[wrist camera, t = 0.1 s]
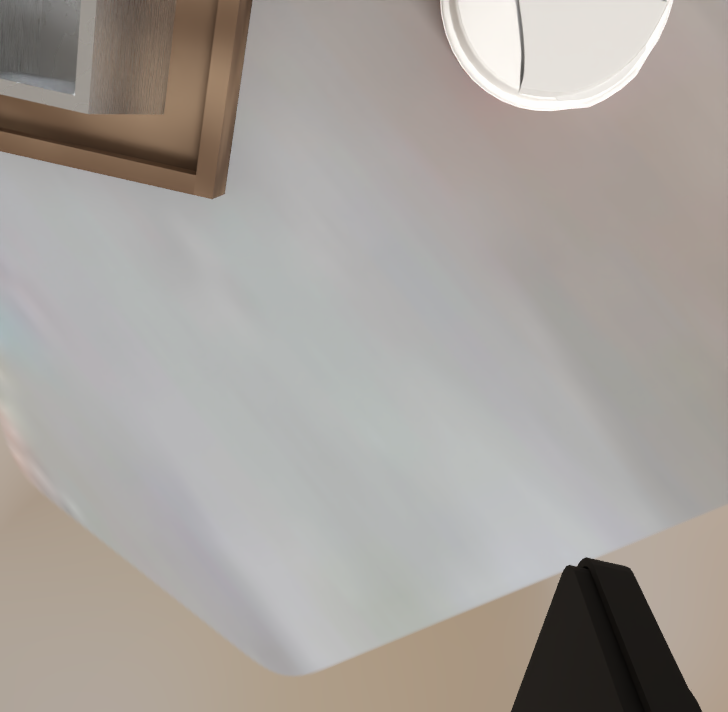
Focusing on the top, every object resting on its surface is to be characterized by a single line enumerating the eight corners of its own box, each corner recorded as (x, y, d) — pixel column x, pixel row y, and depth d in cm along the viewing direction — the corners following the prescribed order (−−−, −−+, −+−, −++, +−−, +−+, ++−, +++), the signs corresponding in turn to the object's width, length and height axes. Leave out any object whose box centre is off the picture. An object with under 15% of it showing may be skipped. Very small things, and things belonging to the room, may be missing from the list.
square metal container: (40, -66, 34) (-84, -125, 26) (180, -34, 34) (102, -83, 26) (33, 84, 37) (-83, 75, 28) (163, 114, 37) (88, 114, 28)
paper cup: (404, 0, 35) (397, -69, 22) (546, -90, 33) (632, -224, 20) (474, 142, 37) (508, 158, 24) (612, 64, 35) (730, 34, 22)
